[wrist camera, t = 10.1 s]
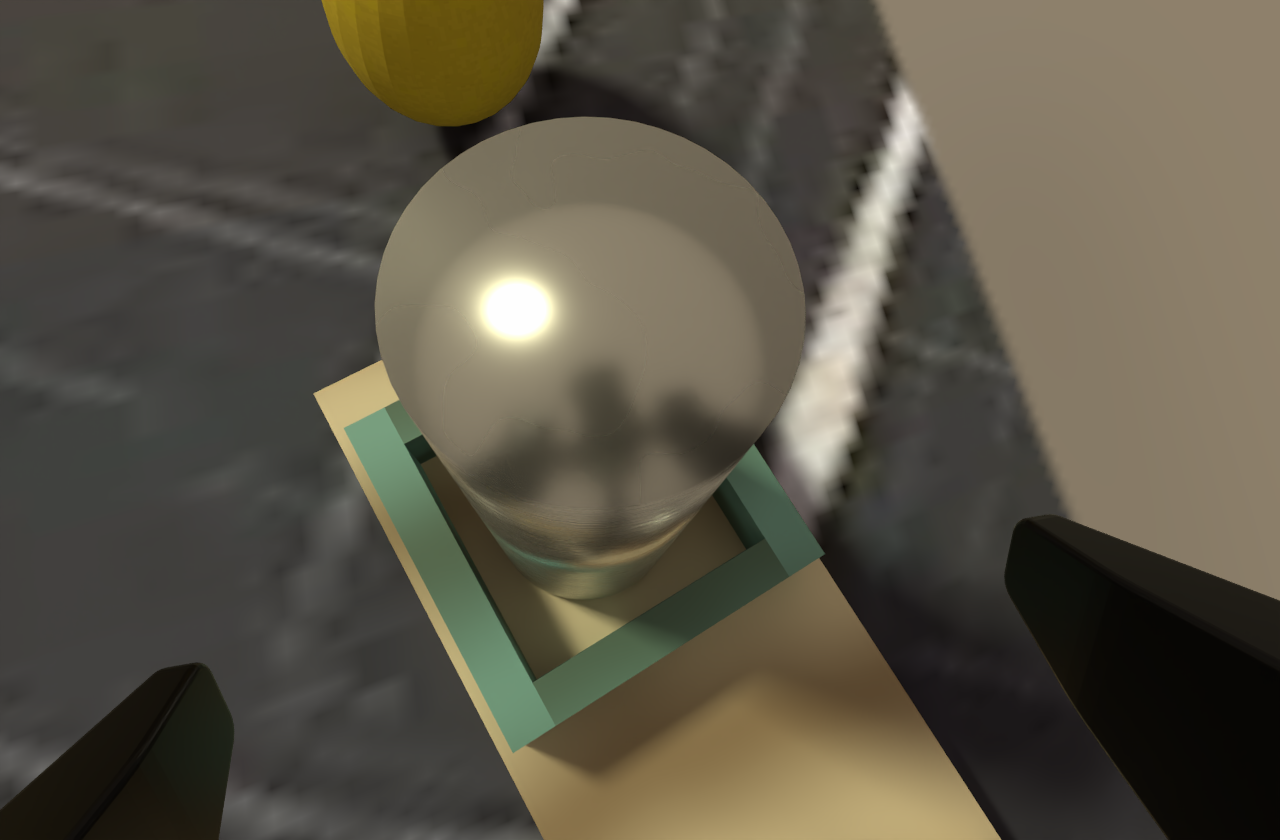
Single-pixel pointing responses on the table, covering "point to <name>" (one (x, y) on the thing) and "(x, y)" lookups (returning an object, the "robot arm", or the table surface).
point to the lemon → (439, 53)
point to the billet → (589, 338)
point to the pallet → (665, 666)
